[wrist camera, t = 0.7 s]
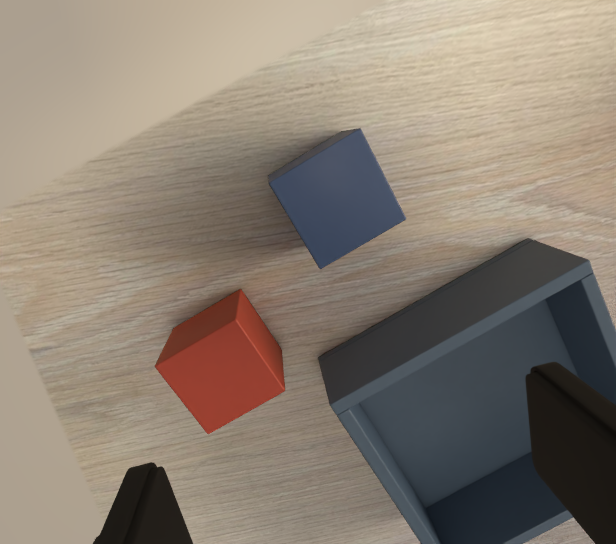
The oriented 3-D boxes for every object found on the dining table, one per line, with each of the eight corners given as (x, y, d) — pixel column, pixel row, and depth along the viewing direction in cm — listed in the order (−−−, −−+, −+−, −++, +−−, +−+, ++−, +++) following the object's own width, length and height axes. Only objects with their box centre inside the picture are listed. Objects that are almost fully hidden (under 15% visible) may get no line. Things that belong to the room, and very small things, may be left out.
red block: (172, 328, 28) (153, 366, 23) (240, 288, 27) (235, 318, 23) (217, 387, 29) (207, 435, 24) (282, 350, 29) (285, 391, 24)
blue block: (267, 175, 26) (268, 182, 21) (342, 130, 25) (360, 127, 21) (310, 247, 27) (320, 269, 22) (381, 205, 27) (406, 219, 22)
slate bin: (317, 357, 29) (329, 405, 24) (528, 237, 28) (589, 259, 23) (418, 513, 34) (447, 583, 28) (602, 414, 33) (669, 467, 27)
